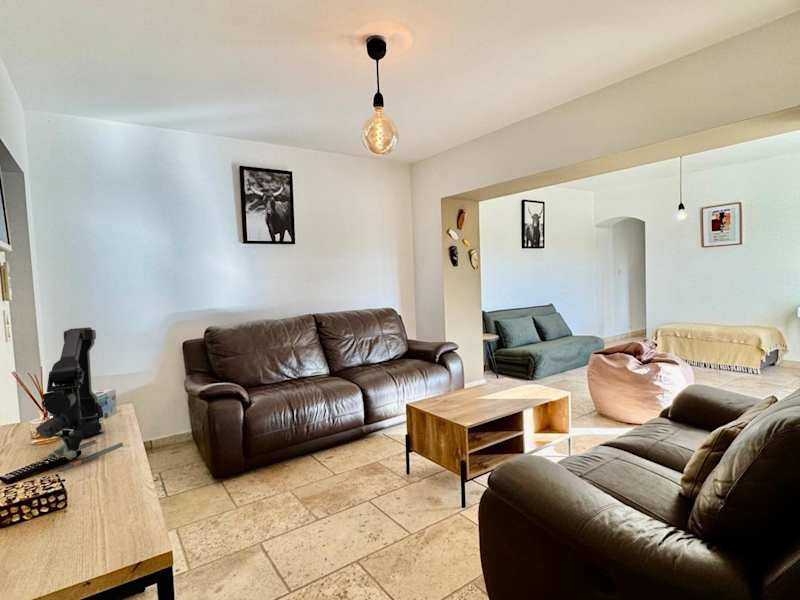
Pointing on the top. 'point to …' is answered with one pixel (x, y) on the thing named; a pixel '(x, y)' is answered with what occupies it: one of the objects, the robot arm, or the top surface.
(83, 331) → the robot arm
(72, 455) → the pipe fitting
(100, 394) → the light bulb box
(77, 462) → the grey metal bars
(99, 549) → the top surface
